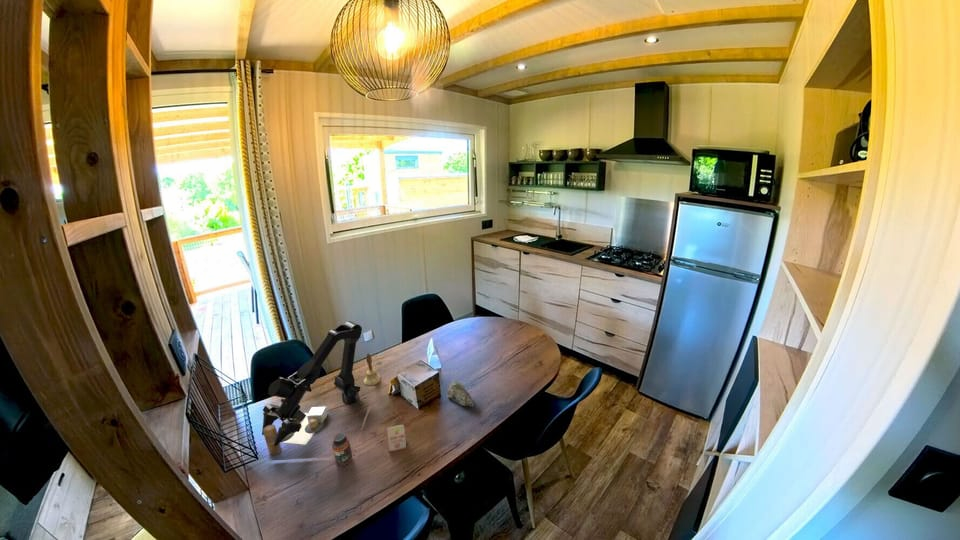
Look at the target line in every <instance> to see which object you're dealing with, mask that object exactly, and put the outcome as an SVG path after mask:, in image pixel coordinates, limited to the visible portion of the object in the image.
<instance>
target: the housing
mask: <svg viewBox="0 0 960 540" xmlns="http://www.w3.org/2000/svg"><path fill="white" fill-rule="evenodd" d="M307 413H308V415H307V418H308V423H309V421H310V420H311V419H313V418H317V421H318V423H321V422H323V423H324V421H325V420H326V418H327V417H326V416H328V410H327V406H312V407H311V408H310V410H309V411H308V412H307ZM325 417H326V418H325Z"/></svg>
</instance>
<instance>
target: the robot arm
mask: <svg viewBox="0 0 960 540" xmlns="http://www.w3.org/2000/svg"><path fill="white" fill-rule="evenodd" d="M362 332H363V327H362V326H361V325H360V324H358V323H357V322H356V323H355V322H353V321H351V320H348V321H346V322H344V323H342V324H340V325H337V326H336V327H335V328H333V329H331V330H329V331H328V332H327V335H326V336H325V338H324V339H323V341H322V342H321V343H320V345H319V347H318V348H317V349H316V351H315V352H314V353H313V355H312V357H311V358H310V359H309V360H308V361H307V362H304V363H303V364H302V366H300V368H299V369H298V370H297V371H296V372H294V373H293V374H291V375H290V376H288V377H287V378H285V377H282V376H278V378H277V379H275V380H274V381H273V382H272V383H270V385H269V386H268V391H267V392H268V395H269V396H271V397H276V398H281V400H280V402H281V404H280V405H279V404H278V405H277V404H272V403H268V404H266V405H264V407H263V409H262V411H263V413H262V415H263V417H262V419H263V421H262V431H261V435H262V436H264V433H263V429H264V428H265V427H266V426H268V425H274V422H275V421H276V420H280V421H281V426H279V427H278V430H277V436H276V439H275V442H274V446H277V445H278V444H279V443H280V444H281V443H282V442H281V441H282V440H283V439H284V438H285V437H286V436H288V435H289V434H291V433H295V432H299V431H300V429H301V427H302V425H301V423H299V422H301V421H302V420H303V419H304V418H305V417H306V415H305V414H304V413H305V412H302V411H301V405H300V403H301V401H302V399H303V397H304V396H305V394H306V393H307V392H310V393H311V392H312V391H313V390H312V388H311V385H313V384H315V382H316V381H317V379H318V377H319V375H320V374H321V373H320V372H321V368H322V365H323V363H324V362H325V361H326V359H327V358H328V356H329V354H331V352H332V351H333V349H334V348H335V346H336V345H337V343H338V342H340V341H341V340H343V341H344V344H343V349H342V358H341V367H340V372H339V374H338V375H335V376H334V383H333V385H334V388H336V390H338V391H340V392H341V399H342V402H343V403H345V404H346V405H352V404H356V403H357V402H358V401H359V399H360V392H361V386H359V385H358V384H356V383H355V377H354V374H353V369H354V361H355V354H356V348H357V346H356V345H357V342H358V341H359V340H360V339H361V336H362V335H361V334H362ZM290 418H291V419H297V420H299V422H298V421H297V420H291V419H290Z"/></svg>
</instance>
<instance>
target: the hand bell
mask: <svg viewBox="0 0 960 540" xmlns="http://www.w3.org/2000/svg"><path fill="white" fill-rule="evenodd" d="M365 360H366V363H367V367H368V370H367V371H366V376H365V378H364V379H363V384H364V385H366V386H374V385H376V384H378V383H379V382H380V381H381V376H380V375H379V374H377V371H376V369H375V368H373V366H372V364H373V363H372V361H373V359H372V356H371V354H370V353H369V352H367V354H366V357H365Z"/></svg>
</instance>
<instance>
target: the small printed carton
mask: <svg viewBox="0 0 960 540" xmlns="http://www.w3.org/2000/svg"><path fill="white" fill-rule="evenodd" d="M385 434H386V444H387V450H388V451H387V452H388V453H389V452H391V453H392V452H394V451H395V452H396V451H398V450H405V449H407V443H406V442H407V441H406V431H405V424H399V425H394V426H389V427H385Z"/></svg>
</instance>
